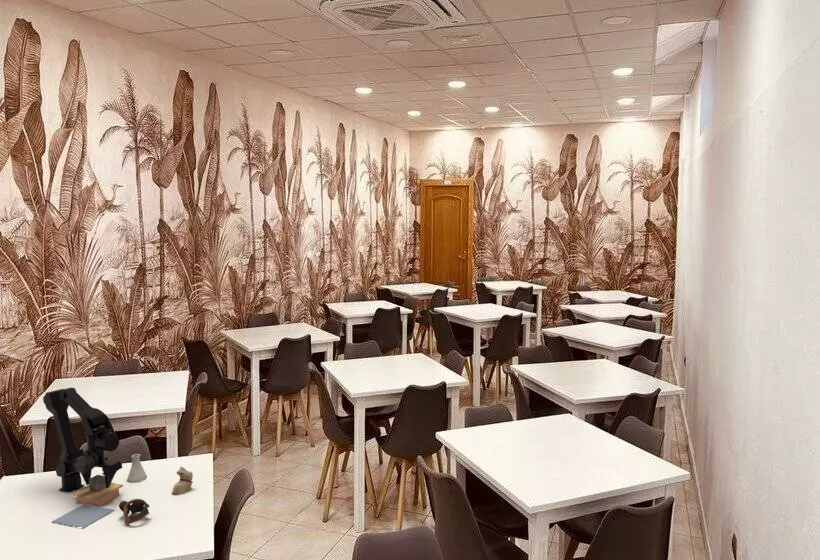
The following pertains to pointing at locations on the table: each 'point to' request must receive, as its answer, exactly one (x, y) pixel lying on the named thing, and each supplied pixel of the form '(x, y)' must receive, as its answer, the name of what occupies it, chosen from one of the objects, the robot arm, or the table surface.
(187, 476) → the chocolate bunny
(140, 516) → the brown curved piece
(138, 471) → the flask
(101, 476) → the wooden lid
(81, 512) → the slate mat
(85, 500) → the terracotta dish
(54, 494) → the table surface
